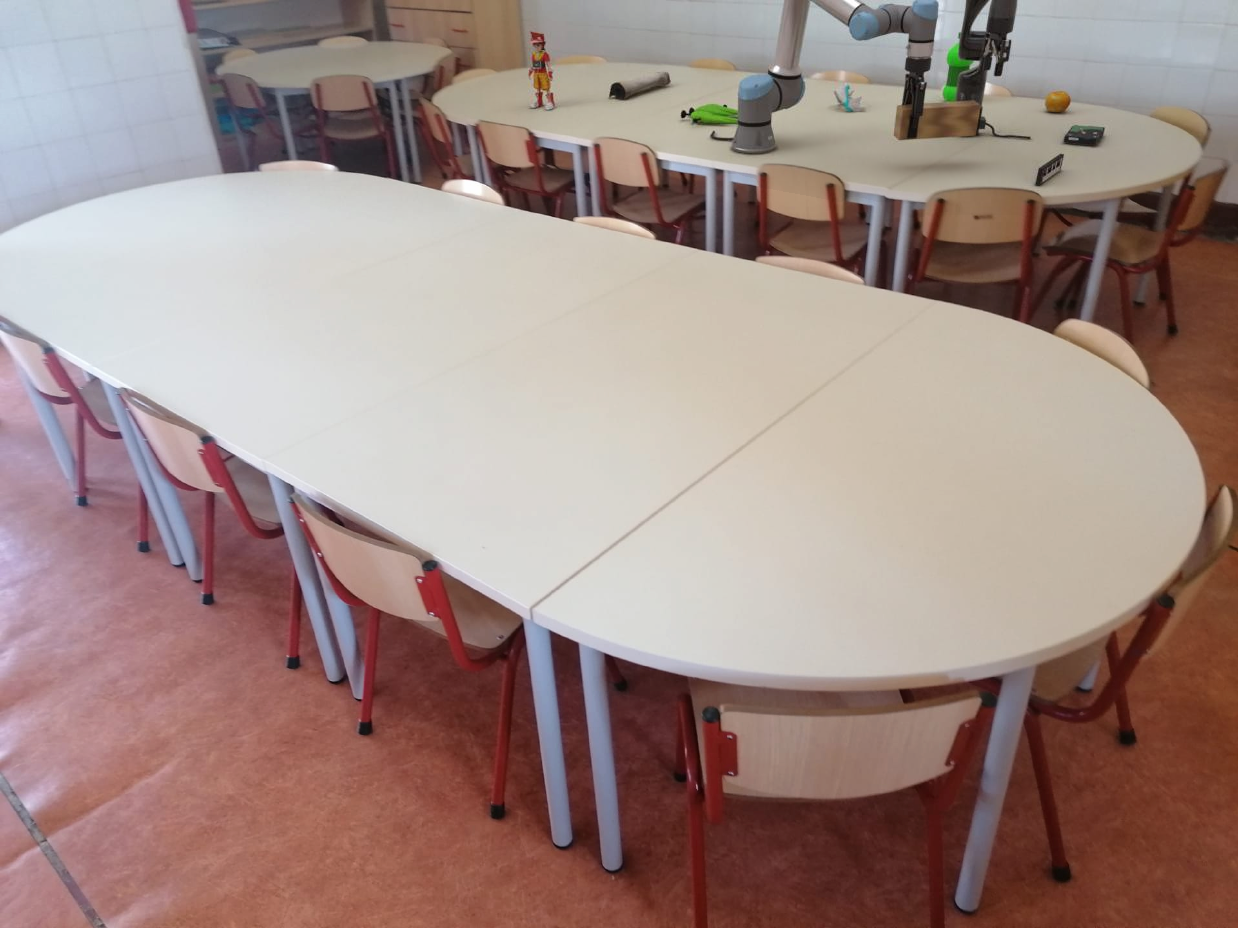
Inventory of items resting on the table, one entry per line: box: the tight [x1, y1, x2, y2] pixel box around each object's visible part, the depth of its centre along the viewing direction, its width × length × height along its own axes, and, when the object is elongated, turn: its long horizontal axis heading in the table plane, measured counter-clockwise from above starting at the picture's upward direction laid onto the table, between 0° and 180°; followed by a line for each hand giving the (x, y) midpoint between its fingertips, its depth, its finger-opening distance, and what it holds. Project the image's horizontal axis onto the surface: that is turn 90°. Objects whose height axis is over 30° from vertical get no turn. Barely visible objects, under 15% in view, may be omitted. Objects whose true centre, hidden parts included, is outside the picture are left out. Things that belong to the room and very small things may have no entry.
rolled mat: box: [608, 71, 672, 101], centre depth 395 cm, size 30×9×10 cm
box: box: [893, 100, 981, 141], centre depth 282 cm, size 24×6×9 cm, turn 92°
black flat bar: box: [1035, 153, 1065, 186], centre depth 273 cm, size 18×1×5 cm, turn 138°
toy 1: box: [527, 31, 556, 111], centre depth 374 cm, size 12×9×30 cm
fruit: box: [1044, 90, 1072, 113], centre depth 334 cm, size 8×8×8 cm
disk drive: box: [1063, 124, 1106, 146], centre depth 304 cm, size 10×3×15 cm
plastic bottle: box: [942, 31, 974, 102], centre depth 348 cm, size 10×10×25 cm
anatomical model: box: [833, 81, 867, 113], centre depth 353 cm, size 15×10×10 cm
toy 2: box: [680, 103, 738, 124], centre depth 349 cm, size 28×5×30 cm
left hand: (908, 135), depth 285 cm, fingers closed on box, 6 cm apart
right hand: (991, 73), depth 274 cm, fingers open, 8 cm apart
